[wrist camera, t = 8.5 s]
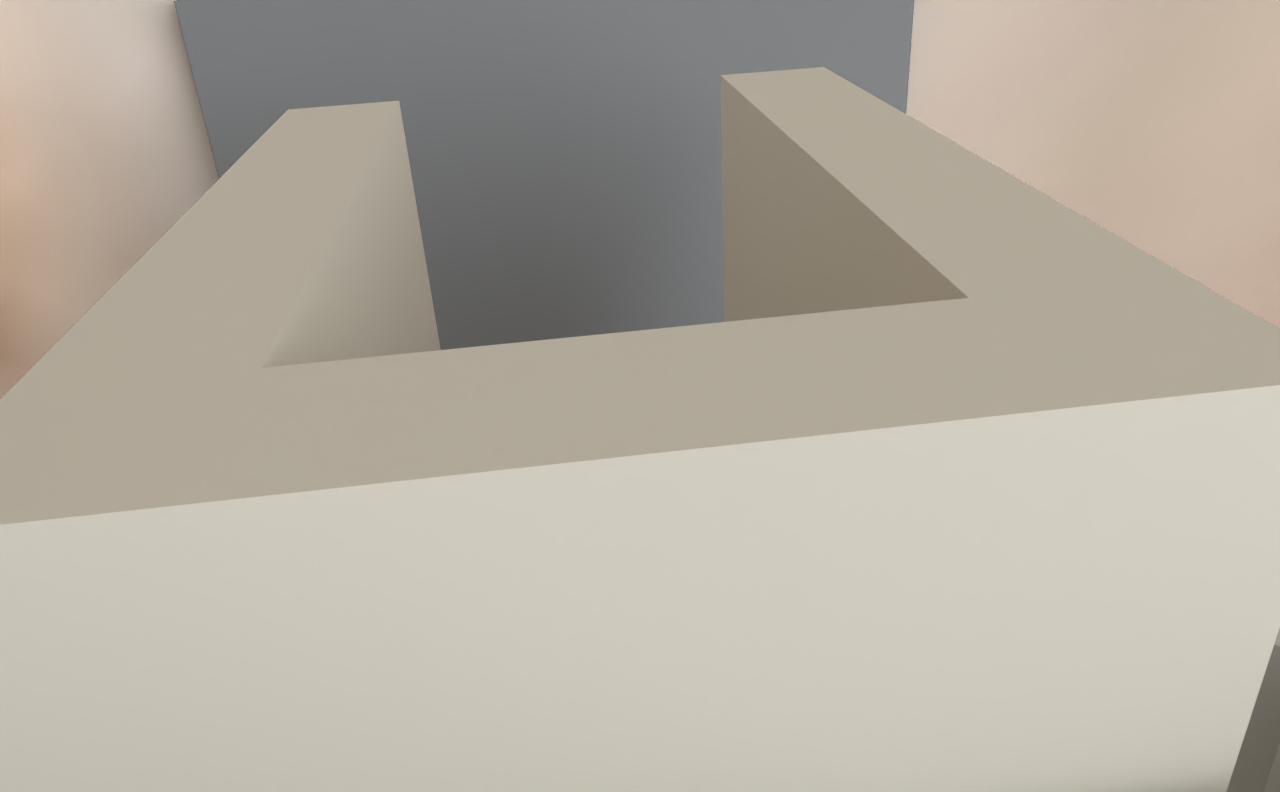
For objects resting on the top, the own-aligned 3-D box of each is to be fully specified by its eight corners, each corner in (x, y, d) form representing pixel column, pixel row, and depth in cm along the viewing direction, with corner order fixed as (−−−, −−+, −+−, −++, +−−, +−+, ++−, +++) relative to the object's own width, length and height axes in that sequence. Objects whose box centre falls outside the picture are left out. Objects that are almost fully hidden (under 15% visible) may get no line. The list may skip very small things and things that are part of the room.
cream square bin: (823, 66, 11) (1362, 376, 4) (807, 612, 15) (1073, 1263, 8) (289, 109, 11) (-140, 540, 4) (409, 661, 14) (313, 1401, 7)
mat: (868, 528, 19) (875, 540, 18) (331, 588, 18) (328, 602, 17) (907, -51, 14) (918, -49, 14) (182, -2, 13) (174, 1, 13)
